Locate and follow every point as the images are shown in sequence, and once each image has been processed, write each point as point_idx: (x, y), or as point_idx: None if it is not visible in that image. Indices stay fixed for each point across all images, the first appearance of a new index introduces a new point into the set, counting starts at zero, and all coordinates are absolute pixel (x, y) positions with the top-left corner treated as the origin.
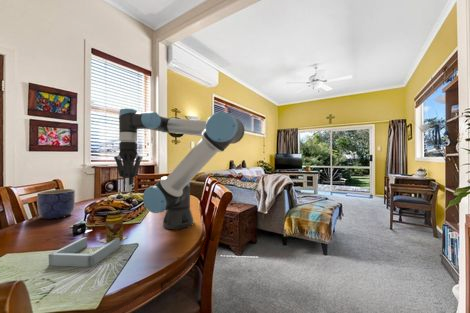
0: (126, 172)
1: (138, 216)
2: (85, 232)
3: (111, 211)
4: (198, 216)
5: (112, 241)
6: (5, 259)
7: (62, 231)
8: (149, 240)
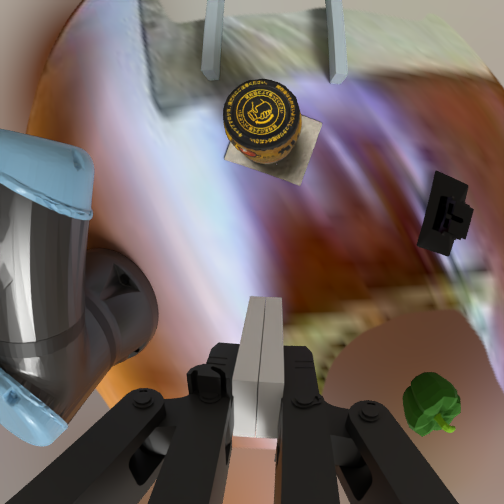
0: (279, 469)
1: None
2: (425, 215)
3: (284, 117)
4: None
5: (208, 43)
6: (464, 41)
7: (492, 229)
8: (135, 142)
